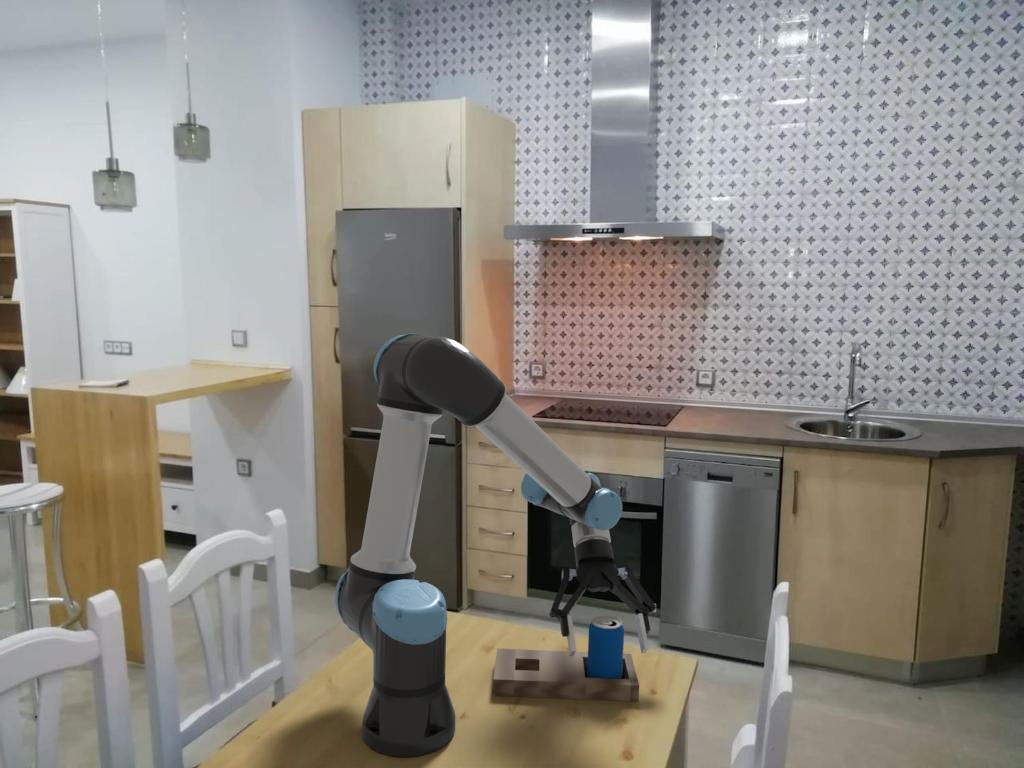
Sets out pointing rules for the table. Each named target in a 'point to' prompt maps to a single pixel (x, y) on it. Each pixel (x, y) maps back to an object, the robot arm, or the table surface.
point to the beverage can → (605, 647)
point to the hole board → (559, 676)
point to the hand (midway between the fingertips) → (609, 652)
